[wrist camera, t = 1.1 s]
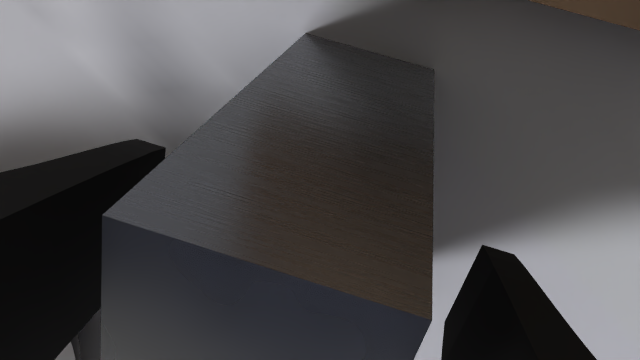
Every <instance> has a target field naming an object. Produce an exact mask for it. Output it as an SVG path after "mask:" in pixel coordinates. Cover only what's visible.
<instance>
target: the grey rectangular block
mask: <svg viewBox="0 0 640 360" xmlns="http://www.w3.org/2000/svg"><path fill="white" fill-rule="evenodd" d="M433 141H434V70H433V69H429V68H426V67H422V66H419V65H415V64H412V63H408V62H405V61H401V60H398V59H394V58H391V57H387V56H384V55H380V54H377V53H373V52H370V51H366V50H363V49H359V48H356V47H352V46H349V45H345V44H341V43H338V42H334V41H331V40H327V39H324V38H320V37H317V36H313V35H310V34H306V33H305V34H304V35H303V36H302V37H301V38H300V39H299V40H297V41H296V42H295V43H294V44H293V45H292V46H291V47H290V48H288V49H287V50H286V51H285V52H284V53H283V54H282V55H281V56H280V57H278V58H277V59H276V60H275V61H274V62H273V63H272V64H271V65H269V66H268V67H267V68H266V69H265V70H264V71H263V72H262V73H261V74H259V75H258V76H257V77H256V78H255V79H254V80H253V81H252V82H250V83H249V84H248V85H247V86H246V87H245V88H244V89H243V90H242V91H240V92H239V93H238V94H237V95H236V96H235V97H234V98H233V99H231V100H230V101H229V102H228V103H227V104H226V105H225V106H224V107H223V108H221V109H220V110H219V111H218V112H217V113H216V114H215V115H214V116H212V117H211V118H210V119H209V120H208V121H207V122H206V123H205V124H204V125H202V126H201V127H200V128H199V129H198V130H197V131H196V132H195V133H193V134H192V135H191V136H190V137H189V138H188V139H187V140H186V141H185V142H183V143H182V144H181V145H180V146H179V147H178V148H177V149H176V150H174V151H173V152H172V153H171V154H170V155H169V156H168V157H167V158H165V159H164V160H163V161H162V162H161V163H160V164H159V165H158V166H157V167H155V168H154V169H153V170H152V171H151V172H150V173H149V174H148V175H146V176H145V177H144V178H143V179H142V180H141V181H140V182H139V183H138V184H136V185H135V186H134V187H133V188H132V189H131V190H130V191H129V192H127V193H126V194H125V195H124V196H123V197H122V198H121V199H120V200H119V201H117V202H116V203H115V204H114V205H113V206H112V207H111V208H110V209H108V210H107V211H106V212H105V213H104V214H103V215H102V276H101V360H414V358H415V355H416V353H417V351H418V349H419V347H420V345H421V343H422V341H423V338H424V336H425V334H426V332H427V330H428V328H429V326H430V324H431V321H432V261H433Z"/></svg>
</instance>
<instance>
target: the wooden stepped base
mask: <svg viewBox="0 0 640 360" xmlns="http://www.w3.org/2000/svg"><path fill="white" fill-rule="evenodd" d="M529 1H533V2H536V3H540V4H544V5H547V6H551V7H555V8H558V9H562V10H566V11H569V12H573V13H577V14H581V15H584V16H588V17H592V18H595V19H599V20H603V21H606V22H610V23H614V24H617V25H621V26H625V27H629V28H632V29H636V30H640V0H529Z"/></svg>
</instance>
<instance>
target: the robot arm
mask: <svg viewBox="0 0 640 360" xmlns="http://www.w3.org/2000/svg"><path fill="white" fill-rule="evenodd" d="M165 149H166V148H164V147H161V146H158V145H155V144H151V143H148V142H145V141H142V140H138V139H135V140H128V141H123V142H119V143H115V144H110V145H107V146H103V147H99V148H95V149H91V150H88V151H84V152H80V153H77V154H73V155H69V156H65V157H62V158H58V159H54V160H50V161H47V162H43V163H39V164H35V165H31V166H27V167H23V168H18V169H14V170H10V171H5V172H1V173H0V360H55V359H56V358H57V356H58V355H59V354H60V353H61V352H62V351H63V350H64V348H65V347H66V346H67V345H68V344H69V343H70V342H71V341H72V339H73V338H74V337H75V336H76V335H77V334H78V333H79V331H80V330H81V329H82V328H83V327H84V326H85V325H86V324H87V322H88V321H89V320H90V319H91V318H92V317H93V316H94V314H95V313H96V312H97V311H98V310H99V309H100V308H101V276H102V215H103V214H104V213H105V212H106V211H107V210H108V209H110V208H111V207H112V206H113V205H114V204H115V203H116V202H117V201H119V200H120V199H121V198H122V197H123V196H124V195H125V194H126V193H127V192H129V191H130V190H131V189H132V188H133V187H134V186H135V185H136V184H138V183H139V182H140V181H141V180H142V179H143V178H144V177H145V176H146V175H148V174H149V173H150V172H151V171H152V170H153V169H154V168H155V167H157V166H158V165H159V164H160V163H161V162H162V161H163V160H164V159H165ZM441 360H597V359H596V358H595V357H594V356H593V355H592V353H591V352H590V351H589V350H588V348H587V347H586V346H585V345H584V344H583V342H582V341H581V340H580V338H579V337H578V336H577V335H576V333H575V332H574V331H573V330H572V328H571V327H570V326H569V324H568V323H567V322H566V321H565V319H564V318H563V317H562V315H561V314H560V313H559V311H558V310H557V309H556V308H555V306H554V305H553V304H552V302H551V301H550V300H549V298H548V297H547V296H546V294H545V293H544V292H543V290H542V289H541V288H540V286H539V285H538V284H537V282H536V281H535V280H534V278H533V277H532V276H531V274H530V273H529V272H528V271H527V269H526V268H525V267H524V265H523V264H522V263H521V262H520V261H519V259H518V258H517V257H516V256H515V255H514V254H511V253H507V252H504V251H501V250H498V249H494V248H491V247H488V246H485V245H482V247H481V249H480V251H479V253H478V255H477V257H476V259H475V261H474V263H473V265H472V267H471V269H470V271H469V273H468V275H467V277H466V279H465V281H464V283H463V285H462V288H461V290H460V292H459V294H458V296H457V298H456V300H455V302H454V304H453V306H452V308H451V310H450V312H449V314H448V316H447V318H446V320H445V325H444V335H443V346H442V359H441Z"/></svg>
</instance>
